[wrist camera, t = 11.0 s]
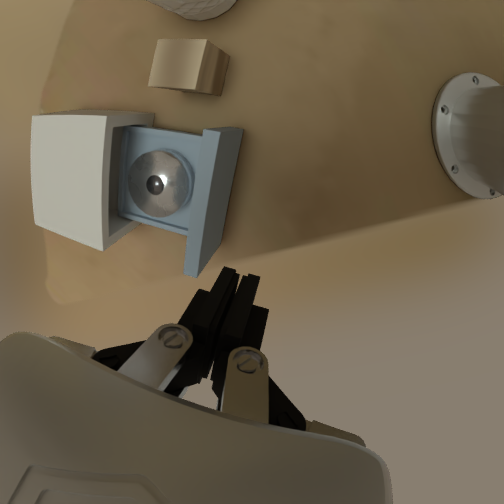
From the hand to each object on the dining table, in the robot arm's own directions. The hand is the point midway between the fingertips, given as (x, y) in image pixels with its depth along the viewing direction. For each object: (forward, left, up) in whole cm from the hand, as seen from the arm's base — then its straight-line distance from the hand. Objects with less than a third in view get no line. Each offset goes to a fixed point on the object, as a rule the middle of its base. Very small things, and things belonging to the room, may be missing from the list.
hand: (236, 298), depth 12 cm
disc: (+10, 0, -13) cm, 16 cm away
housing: (+19, 0, -15) cm, 24 cm away
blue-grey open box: (+10, 0, -15) cm, 18 cm away
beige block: (+9, -11, -15) cm, 20 cm away
